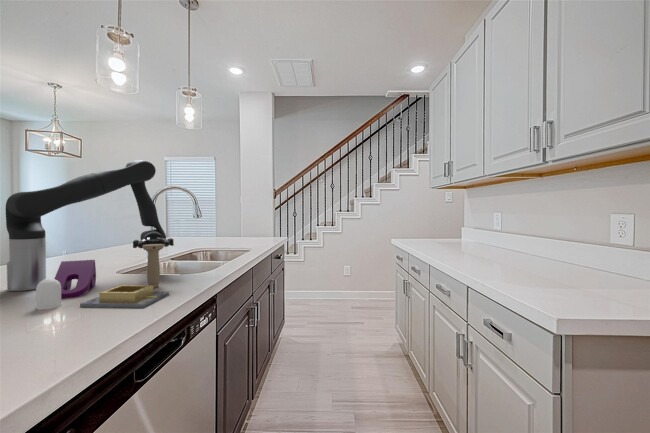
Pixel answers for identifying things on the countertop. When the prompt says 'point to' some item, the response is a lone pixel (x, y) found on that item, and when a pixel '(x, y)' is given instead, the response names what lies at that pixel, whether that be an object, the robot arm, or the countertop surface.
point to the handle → (153, 263)
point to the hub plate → (126, 297)
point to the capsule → (48, 294)
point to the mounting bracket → (76, 277)
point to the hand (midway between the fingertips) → (153, 244)
